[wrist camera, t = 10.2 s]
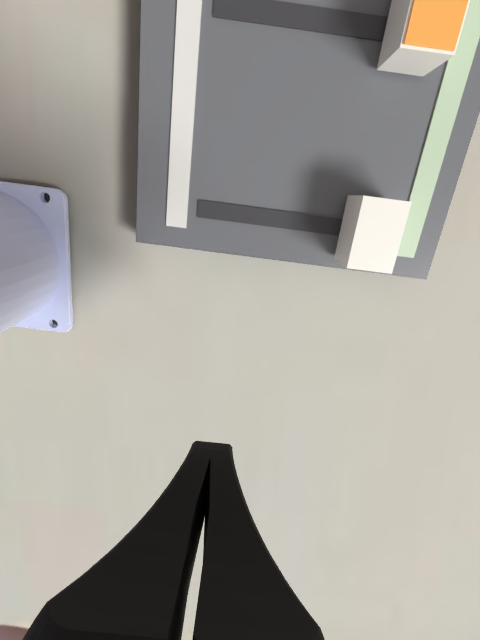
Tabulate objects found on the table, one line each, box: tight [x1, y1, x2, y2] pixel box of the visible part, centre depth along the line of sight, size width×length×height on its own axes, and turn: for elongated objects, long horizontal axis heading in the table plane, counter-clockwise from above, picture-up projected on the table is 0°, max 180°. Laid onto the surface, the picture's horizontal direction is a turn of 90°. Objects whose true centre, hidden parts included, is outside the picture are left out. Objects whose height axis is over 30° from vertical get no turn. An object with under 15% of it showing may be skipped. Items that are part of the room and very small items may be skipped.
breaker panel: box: [136, 0, 480, 279], centre depth 15 cm, size 15×20×2 cm
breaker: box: [334, 195, 412, 274], centre depth 16 cm, size 2×3×2 cm, turn 173°
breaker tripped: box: [377, 0, 470, 76], centre depth 13 cm, size 2×3×2 cm, turn 173°
